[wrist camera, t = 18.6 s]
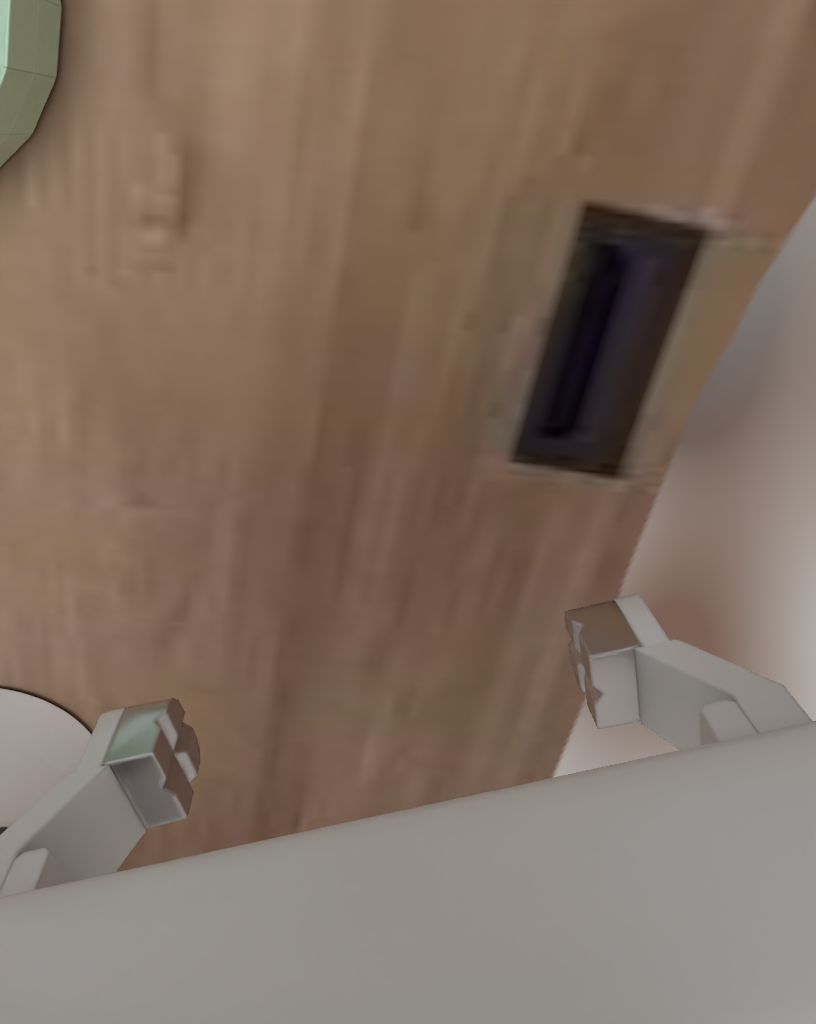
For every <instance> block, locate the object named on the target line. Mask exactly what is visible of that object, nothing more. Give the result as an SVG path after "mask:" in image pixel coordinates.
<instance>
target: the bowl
mask: <svg viewBox="0 0 816 1024" xmlns="http://www.w3.org/2000/svg"><path fill="white" fill-rule="evenodd" d="M61 9H62V8H61V1H60V0H0V167H1V166H2V165H3V164H4V163H5V162H6V161H7V160H8V159H9V158H10V157H11V156H12V155H13V154H14V153H15V152H16V151H17V150H18V149H19V148H20V147H21V146H22V145H23V144H24V143H25V142H26V141H27V140H28V139H29V137H30V136H31V134H33V131H34V129H35V127H36V124H37V122H38V120H39V117H40V115H41V112H42V110H43V108H44V105H45V103H46V101H47V98H48V96H49V94H50V91H51V89H52V87H53V84H54V82H55V78H56V75H57V62H58V49H59V35H60V22H61Z"/></svg>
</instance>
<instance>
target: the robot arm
mask: <svg viewBox="0 0 816 1024" xmlns="http://www.w3.org/2000/svg"><path fill="white" fill-rule="evenodd" d="M565 624H566V629H567V631H568V633H569V635H570V638H571V641H570V643H569V645H568V646H569V652H570V658H571V662H572V666H573V670H574V674H575V676H576V679H577V682H578V684H579V687H580V689H581V690H582V691H584V692H586V698H587V705H588V708H589V710H590V712H591V714H592V717H593V719H594V721H595V723H596V726H597V728H598V729H601V728H607V727H612V726H618V725H623V724H628V723H633V722H639V721H641V723H642V724H643V725H645V726H646V727H647V728H649V729H650V730H652V731H653V732H655V733H656V734H658V735H659V736H660V737H662V738H663V739H665V740H666V741H668V742H669V743H671V744H672V745H673V746H675V747H676V748H678V749H679V751H675V752H670V753H665V754H661V755H656V756H652V757H647V758H643V759H638V760H633V761H629V762H624V763H619V764H615V765H610V766H606V767H601V768H597V769H592V770H587V771H583V772H578V773H573V774H568V775H564V776H559V777H555V778H550V779H545V780H541V781H536V782H531V783H527V784H522V785H518V786H513V787H508V788H504V789H499V790H494V791H490V792H485V793H481V794H476V795H471V796H467V797H462V798H457V799H453V800H448V801H444V802H439V803H434V804H430V805H425V806H420V807H416V808H411V809H407V810H402V811H397V812H393V813H388V814H384V815H379V816H374V817H370V818H365V819H360V820H356V821H351V822H346V823H342V824H337V825H333V826H328V827H323V828H319V829H314V830H309V831H305V832H300V833H296V834H291V835H286V836H282V837H277V838H272V839H268V840H263V841H258V842H254V843H249V844H245V845H240V846H235V847H231V848H226V849H221V850H217V851H212V852H208V853H203V854H198V855H194V856H189V857H184V858H180V859H175V860H170V861H166V862H161V863H157V864H152V865H147V866H143V867H138V868H133V869H129V870H124V871H120V872H116V871H117V869H118V868H119V867H120V865H121V864H122V863H123V861H124V860H125V859H126V857H127V856H128V855H129V853H130V852H131V851H132V849H133V848H134V847H135V845H136V844H137V843H138V841H139V840H140V839H141V837H142V836H143V835H144V833H145V832H146V829H147V828H151V827H155V826H159V825H164V824H168V823H172V822H176V821H180V820H184V819H187V817H188V813H189V808H190V804H191V800H192V796H193V790H192V788H191V785H190V782H191V781H192V779H193V778H194V777H195V776H196V775H197V774H198V770H199V765H200V748H199V744H198V740H197V737H196V734H195V732H194V730H193V728H192V727H190V726H188V725H186V724H185V723H183V722H182V721H183V717H184V713H185V711H184V710H183V708H182V706H181V704H180V702H179V700H177V699H174V698H172V699H167V700H162V701H157V702H151V703H146V704H141V705H136V706H131V707H128V708H123V709H118V710H113V711H108V712H105V713H103V714H102V715H101V716H100V717H99V719H98V721H97V723H96V726H95V728H94V730H93V732H92V735H91V734H90V732H89V731H88V730H87V729H86V728H85V727H84V726H83V725H82V724H81V723H80V722H79V721H77V720H76V719H75V718H74V717H72V716H71V715H69V714H68V713H67V712H65V711H63V710H62V709H60V708H58V707H56V706H55V705H53V704H51V703H49V702H46V701H44V700H42V699H39V698H37V697H34V696H31V695H28V694H24V693H21V692H17V691H13V690H7V689H1V688H0V1024H816V721H814V722H813V721H812V720H811V719H810V717H809V716H808V715H807V714H806V712H805V711H804V710H803V709H802V708H801V706H800V705H799V704H798V703H797V701H796V700H795V699H794V698H793V696H792V695H791V694H790V693H789V692H788V690H787V689H786V688H785V687H784V685H782V684H779V683H777V682H775V681H772V680H770V679H768V678H766V677H763V676H761V675H758V674H756V673H754V672H752V671H749V670H747V669H745V668H742V667H740V666H738V665H735V664H733V663H731V662H728V661H726V660H724V659H721V658H719V657H717V656H714V655H712V654H710V653H707V652H705V651H703V650H700V649H698V648H696V647H694V646H691V645H689V644H686V643H684V642H682V641H680V640H677V639H676V640H671V641H670V640H669V639H668V637H667V636H666V634H665V633H664V631H663V630H662V628H661V627H660V625H659V623H658V622H657V620H656V619H655V617H654V616H653V614H652V613H651V611H650V610H649V608H648V607H647V605H646V604H645V602H644V601H643V600H642V598H641V596H640V595H638V594H633V595H629V596H625V597H621V598H617V599H613V600H612V601H608V602H603V603H599V604H595V605H590V606H586V607H581V608H577V609H573V610H568V611H565Z"/></svg>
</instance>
